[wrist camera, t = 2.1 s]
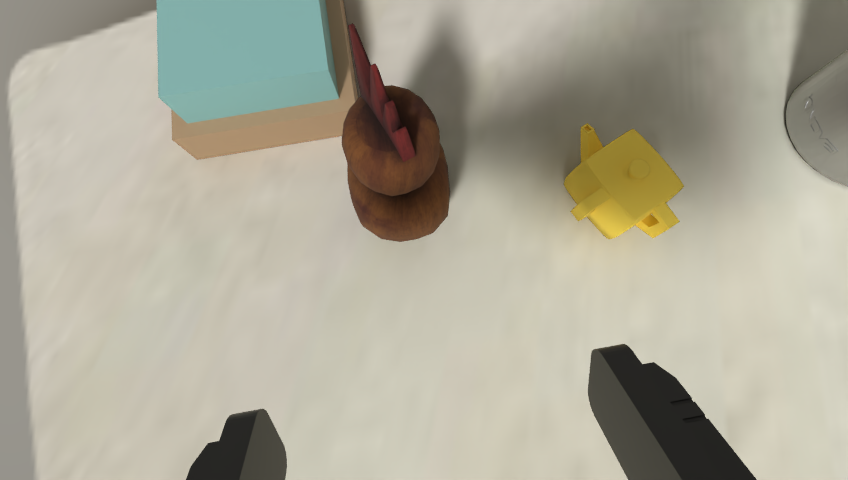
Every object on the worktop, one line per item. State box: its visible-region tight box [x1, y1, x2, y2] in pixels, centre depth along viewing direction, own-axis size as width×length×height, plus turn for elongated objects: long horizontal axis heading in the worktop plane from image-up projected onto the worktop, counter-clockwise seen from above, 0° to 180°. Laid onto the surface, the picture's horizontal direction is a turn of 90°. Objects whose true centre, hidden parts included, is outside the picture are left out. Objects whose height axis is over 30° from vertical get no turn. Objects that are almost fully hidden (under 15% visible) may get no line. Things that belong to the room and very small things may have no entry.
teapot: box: [564, 123, 684, 239], centre depth 27 cm, size 8×6×5 cm
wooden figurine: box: [342, 23, 450, 242], centre depth 22 cm, size 7×6×15 cm
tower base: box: [157, 0, 358, 160], centre depth 29 cm, size 12×12×6 cm
